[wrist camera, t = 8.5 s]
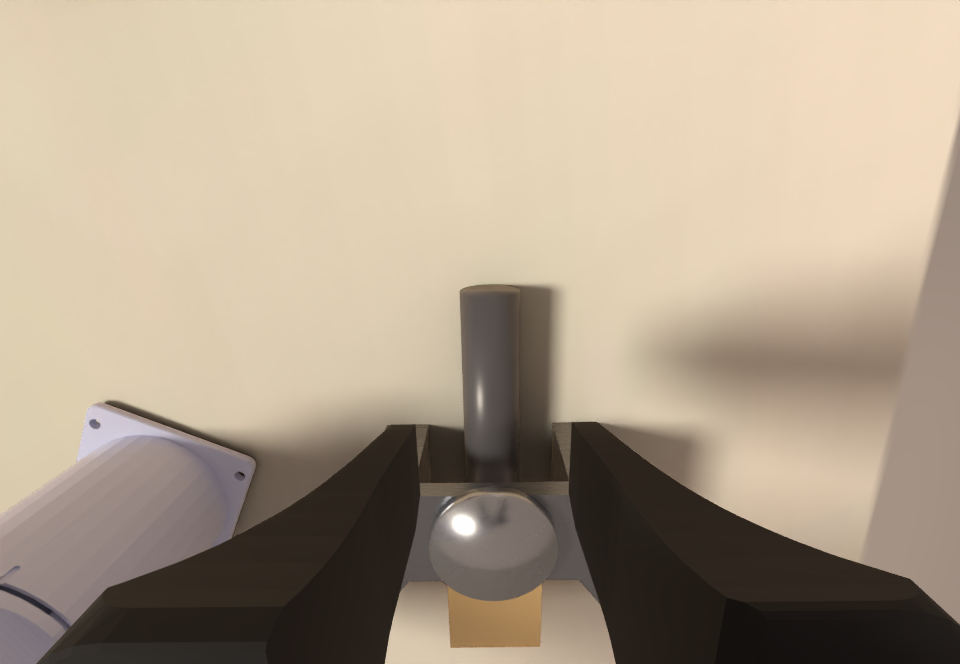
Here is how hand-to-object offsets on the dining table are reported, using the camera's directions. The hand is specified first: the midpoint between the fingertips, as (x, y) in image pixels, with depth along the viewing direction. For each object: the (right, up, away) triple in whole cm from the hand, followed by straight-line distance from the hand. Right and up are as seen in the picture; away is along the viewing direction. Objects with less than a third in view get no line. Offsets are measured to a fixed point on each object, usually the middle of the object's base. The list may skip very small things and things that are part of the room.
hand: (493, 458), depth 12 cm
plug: (0, -3, +11) cm, 12 cm away
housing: (0, -5, +12) cm, 13 cm away
